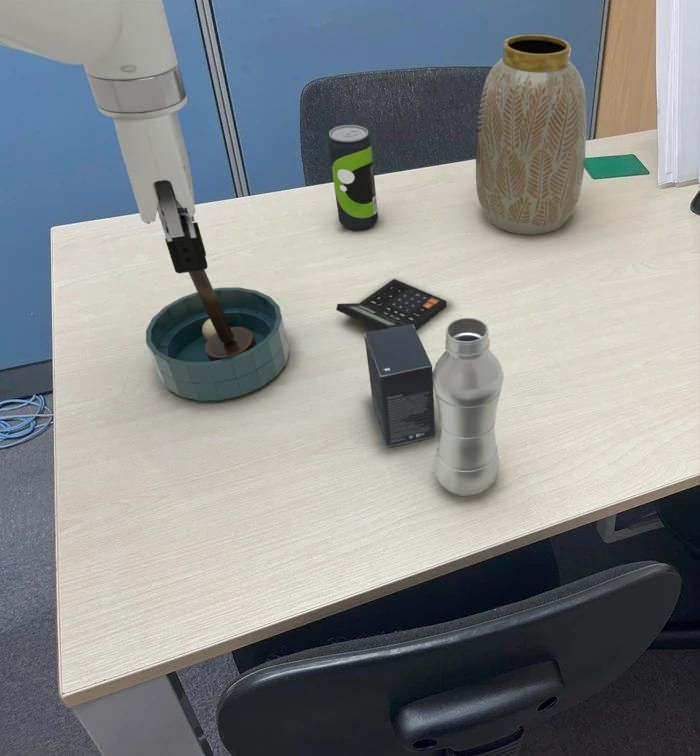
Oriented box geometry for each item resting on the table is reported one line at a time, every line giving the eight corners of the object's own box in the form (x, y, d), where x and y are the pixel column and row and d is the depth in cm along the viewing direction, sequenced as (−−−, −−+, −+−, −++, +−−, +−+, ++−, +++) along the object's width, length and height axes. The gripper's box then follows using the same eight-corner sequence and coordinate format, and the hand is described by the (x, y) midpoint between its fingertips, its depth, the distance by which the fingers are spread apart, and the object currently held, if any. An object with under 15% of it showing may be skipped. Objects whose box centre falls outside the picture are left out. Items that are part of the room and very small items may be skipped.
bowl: (162, 417, 80) (146, 377, 76) (159, 338, 90) (145, 300, 86) (298, 387, 84) (289, 348, 80) (280, 315, 95) (272, 278, 91)
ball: (208, 350, 88) (196, 330, 86) (209, 336, 91) (198, 316, 88) (233, 343, 88) (222, 323, 86) (234, 329, 91) (223, 309, 89)
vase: (582, 243, 111) (603, 66, 94) (473, 240, 111) (474, 61, 93) (574, 192, 124) (591, 28, 106) (476, 189, 124) (478, 24, 106)
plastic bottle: (429, 464, 76) (420, 314, 63) (489, 451, 77) (493, 303, 64) (443, 510, 71) (437, 359, 58) (506, 496, 73) (515, 346, 60)
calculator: (446, 306, 98) (446, 288, 96) (392, 349, 90) (390, 330, 88) (394, 283, 101) (392, 266, 99) (338, 323, 94) (335, 305, 92)
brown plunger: (203, 371, 83) (132, 231, 70) (226, 340, 87) (163, 202, 74) (245, 375, 82) (181, 234, 69) (267, 344, 86) (210, 204, 73)
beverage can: (361, 209, 117) (351, 120, 107) (386, 222, 114) (378, 132, 104) (331, 223, 114) (318, 132, 104) (356, 236, 111) (345, 144, 101)
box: (436, 437, 79) (433, 365, 72) (386, 449, 77) (378, 377, 70) (418, 392, 84) (413, 321, 77) (371, 402, 83) (362, 331, 76)
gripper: (96, 63, 67) (152, 234, 79) (88, 124, 56) (155, 311, 68) (179, 57, 69) (222, 224, 82) (188, 115, 59) (235, 298, 71)
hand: (191, 263), depth 75 cm, fingers closed on brown plunger
